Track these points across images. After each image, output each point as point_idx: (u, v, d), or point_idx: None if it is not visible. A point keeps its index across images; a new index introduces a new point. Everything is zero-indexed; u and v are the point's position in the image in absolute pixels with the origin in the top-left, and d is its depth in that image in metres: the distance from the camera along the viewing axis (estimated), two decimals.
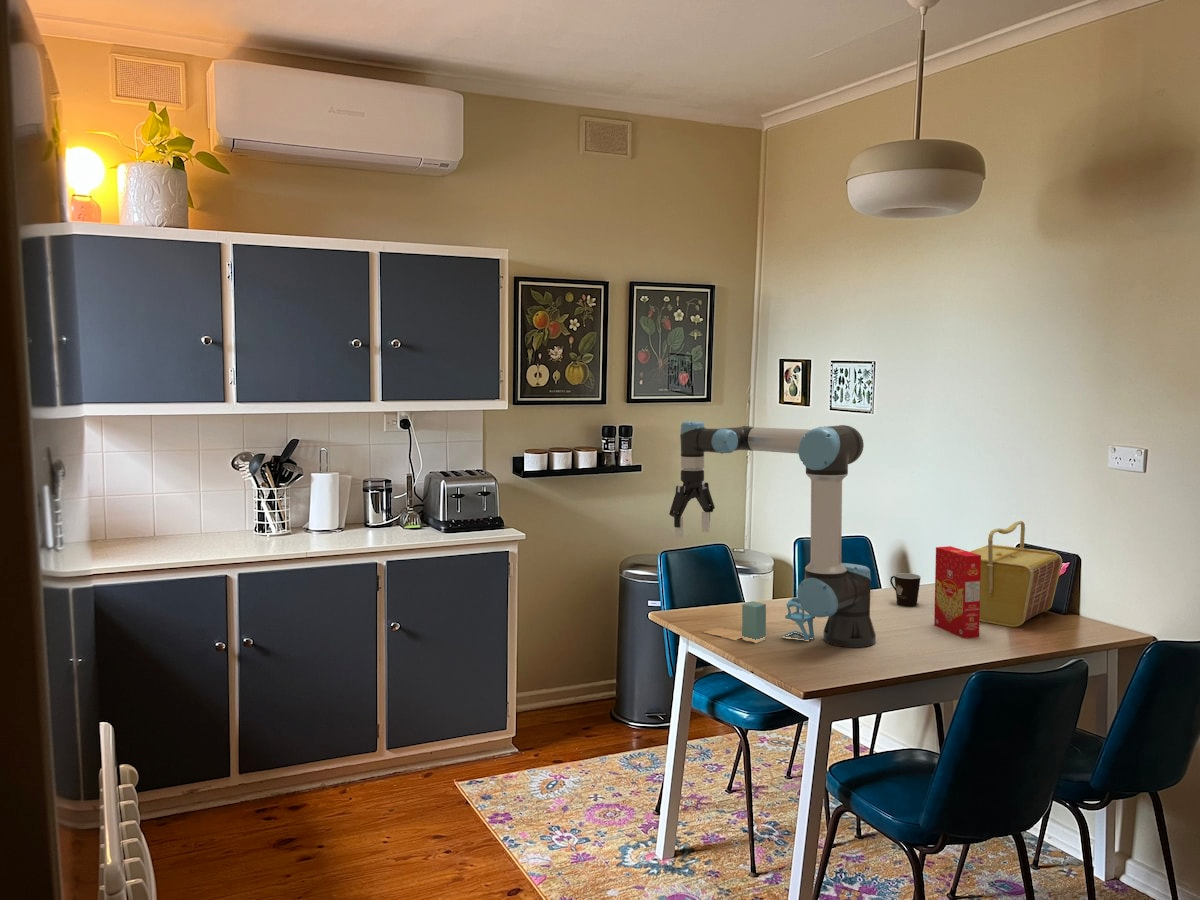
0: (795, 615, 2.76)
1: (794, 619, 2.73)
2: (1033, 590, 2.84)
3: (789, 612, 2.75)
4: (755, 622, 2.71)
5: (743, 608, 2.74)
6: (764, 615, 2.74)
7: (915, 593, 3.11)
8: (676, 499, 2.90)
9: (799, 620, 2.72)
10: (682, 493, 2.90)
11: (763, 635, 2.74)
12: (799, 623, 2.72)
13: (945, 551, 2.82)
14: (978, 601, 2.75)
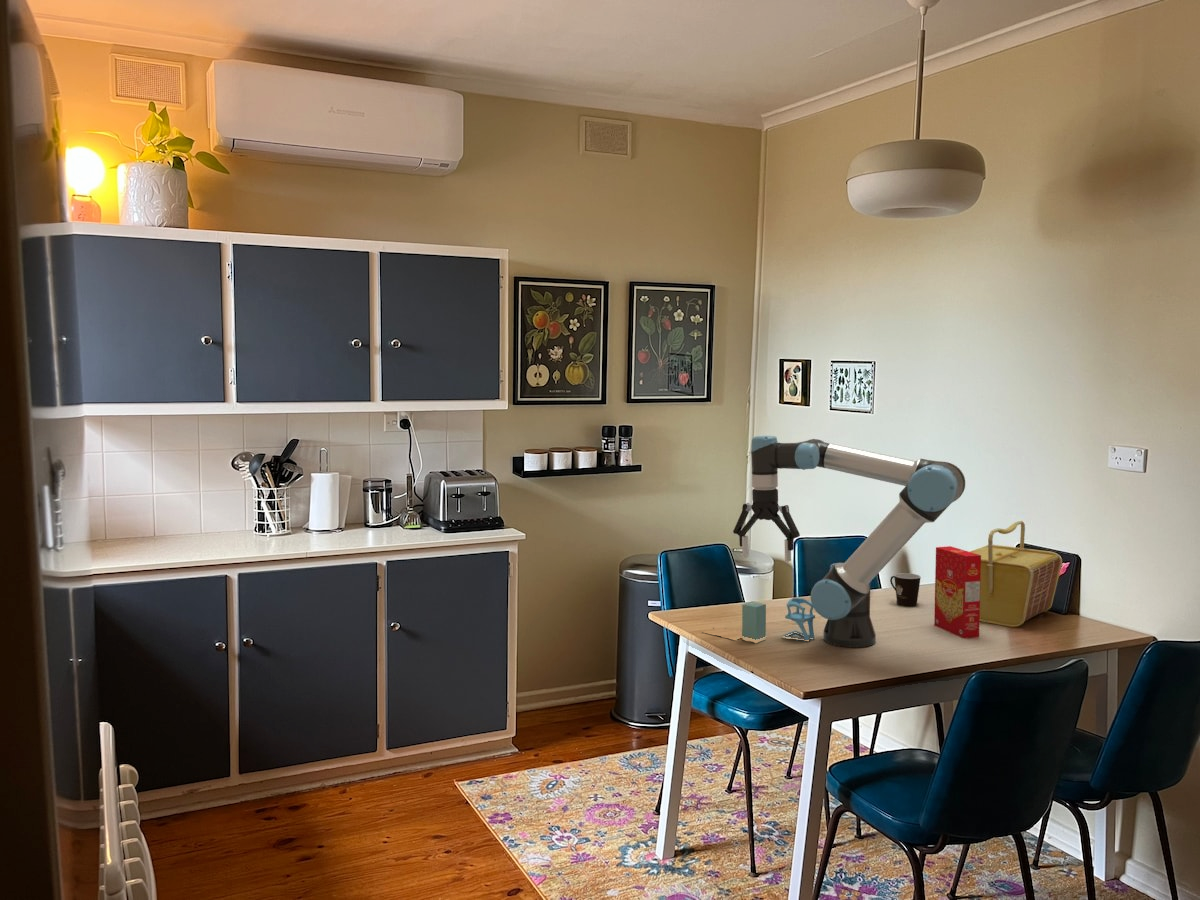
0: (795, 615, 2.76)
1: (794, 619, 2.73)
2: (1033, 590, 2.84)
3: (789, 612, 2.75)
4: (755, 622, 2.71)
5: (743, 608, 2.74)
6: (764, 615, 2.74)
7: (915, 593, 3.11)
8: None
9: (799, 620, 2.72)
10: (743, 511, 2.73)
11: (763, 635, 2.74)
12: (799, 623, 2.72)
13: (945, 551, 2.82)
14: (978, 601, 2.75)
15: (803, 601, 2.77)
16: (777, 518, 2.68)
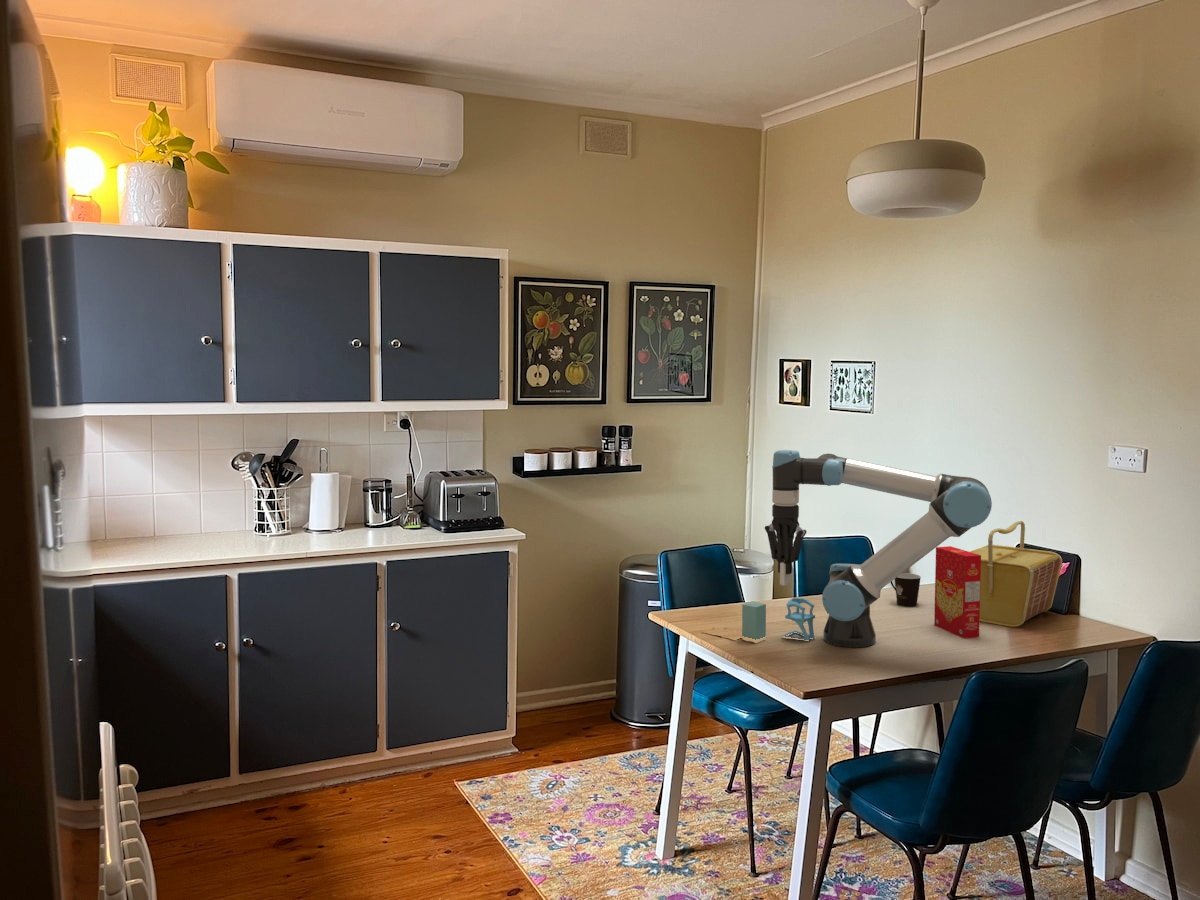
0: (795, 615, 2.76)
1: (794, 619, 2.73)
2: (1033, 590, 2.84)
3: (789, 612, 2.75)
4: (755, 622, 2.71)
5: (743, 608, 2.74)
6: (764, 615, 2.74)
7: (915, 593, 3.11)
8: None
9: (799, 620, 2.72)
10: (768, 533, 2.67)
11: (763, 635, 2.74)
12: (799, 623, 2.72)
13: (945, 551, 2.82)
14: (978, 601, 2.75)
15: (803, 601, 2.77)
16: (789, 539, 2.63)
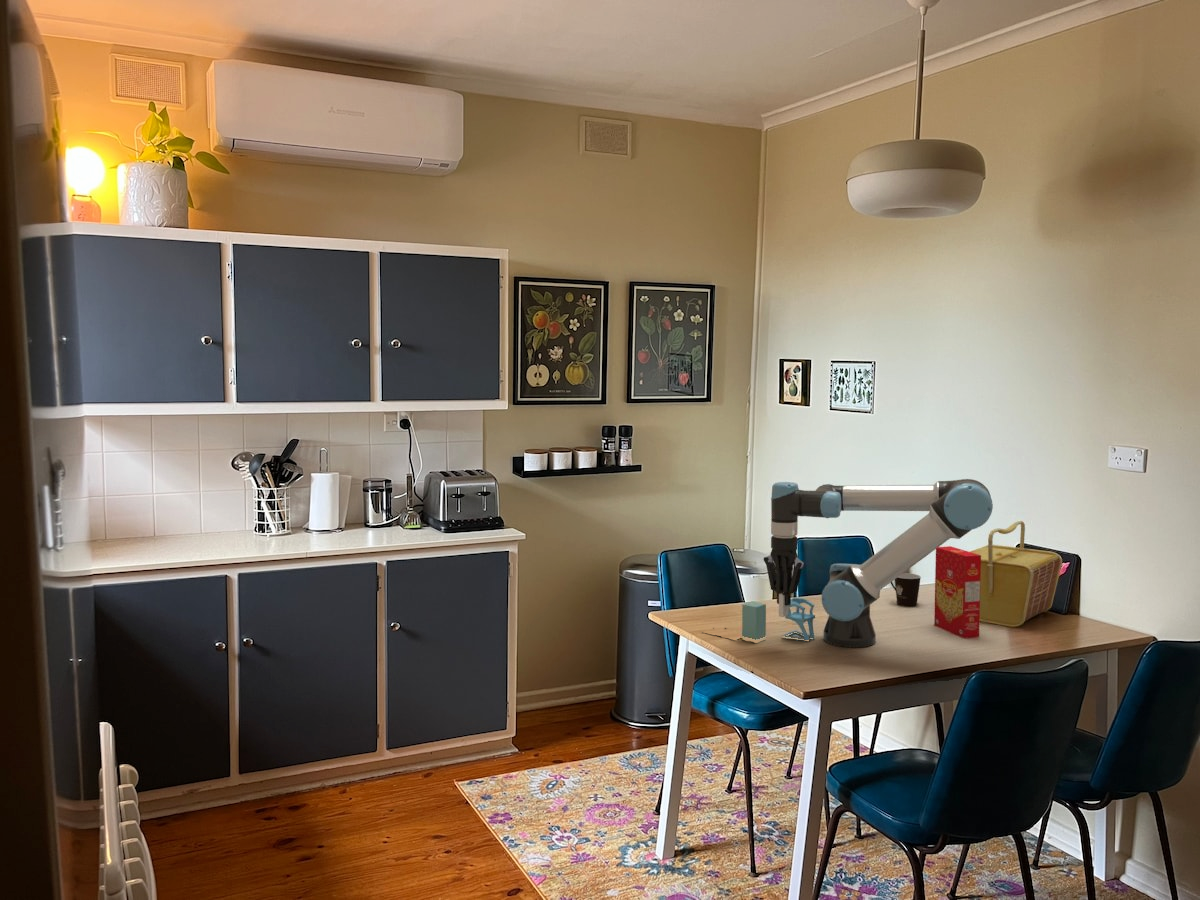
0: (795, 615, 2.76)
1: (794, 619, 2.73)
2: (1033, 590, 2.84)
3: (789, 612, 2.75)
4: (755, 622, 2.71)
5: (743, 608, 2.74)
6: (764, 615, 2.74)
7: (915, 593, 3.11)
8: None
9: (799, 620, 2.72)
10: (767, 564, 2.68)
11: (763, 635, 2.74)
12: (799, 623, 2.72)
13: (945, 551, 2.82)
14: (978, 601, 2.75)
15: (803, 601, 2.77)
16: (788, 570, 2.64)
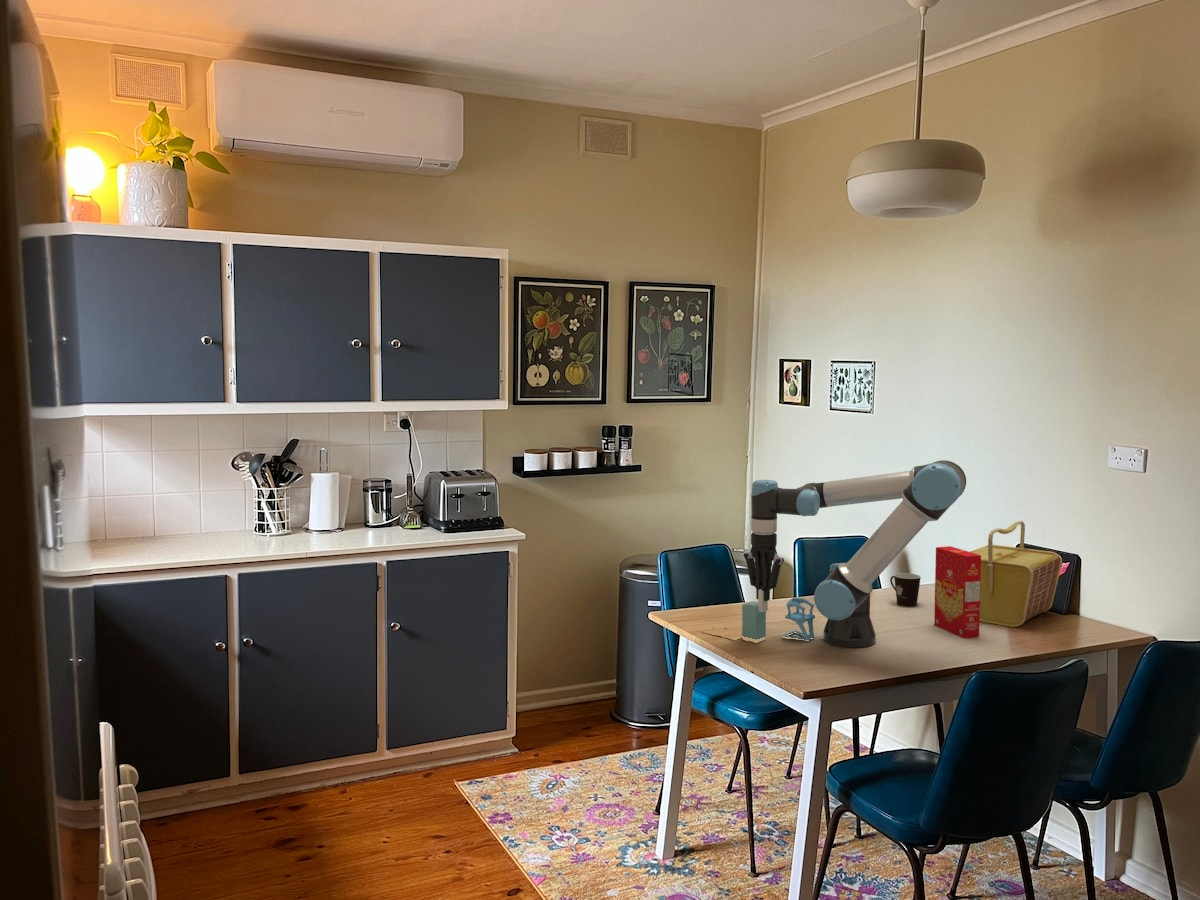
0: (795, 615, 2.76)
1: (794, 619, 2.73)
2: (1033, 590, 2.84)
3: (789, 612, 2.75)
4: (755, 622, 2.71)
5: (743, 608, 2.74)
6: (764, 615, 2.74)
7: (915, 593, 3.11)
8: None
9: (799, 620, 2.72)
10: (747, 560, 2.73)
11: (763, 635, 2.74)
12: (799, 623, 2.72)
13: (945, 551, 2.82)
14: (978, 601, 2.75)
15: (803, 601, 2.77)
16: (767, 566, 2.69)
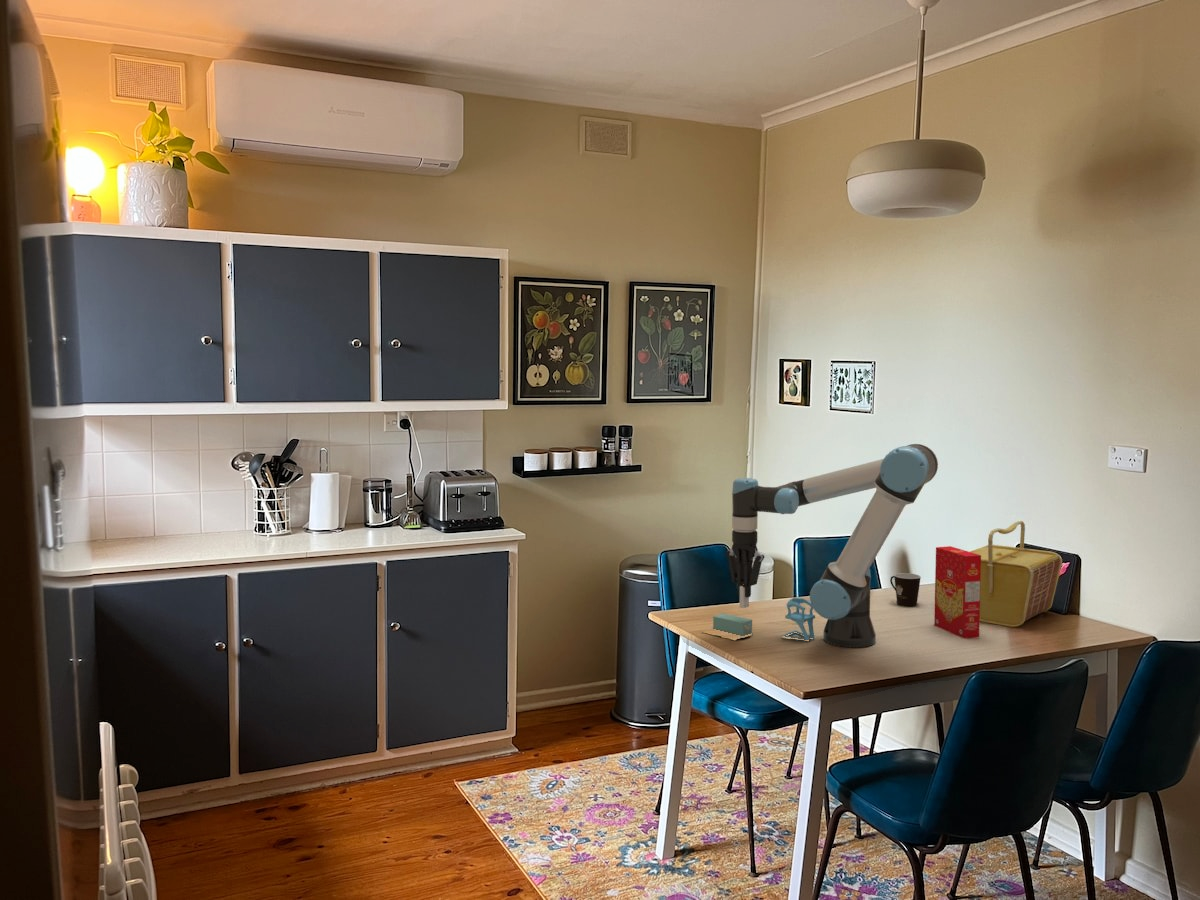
0: (795, 615, 2.76)
1: (794, 619, 2.73)
2: (1033, 590, 2.84)
3: (789, 612, 2.75)
4: (725, 619, 2.79)
5: None
6: (731, 615, 2.83)
7: (915, 593, 3.11)
8: None
9: (799, 620, 2.72)
10: (729, 557, 2.78)
11: (745, 619, 2.78)
12: (799, 623, 2.72)
13: (945, 551, 2.82)
14: (978, 601, 2.75)
15: (803, 601, 2.77)
16: (748, 563, 2.74)
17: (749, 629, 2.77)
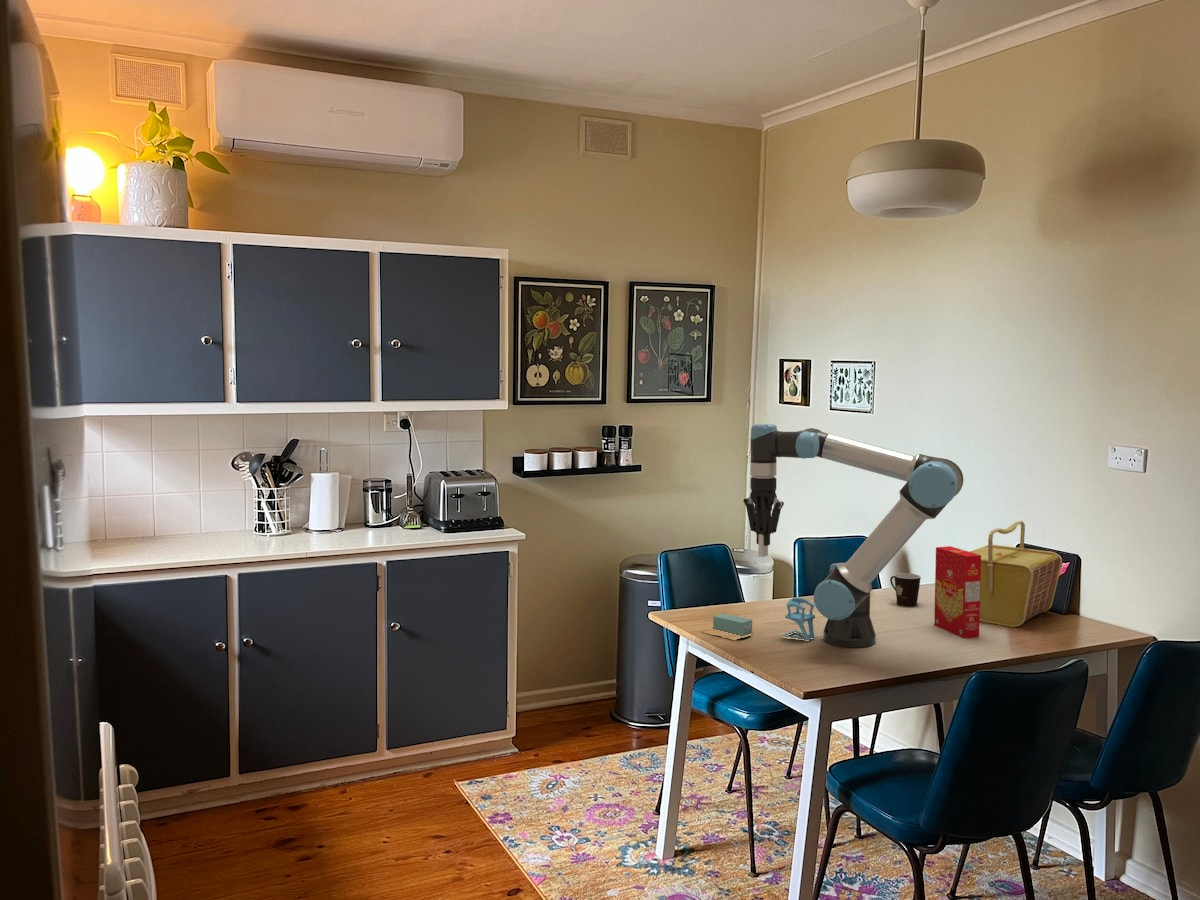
0: (795, 615, 2.76)
1: (794, 619, 2.73)
2: (1033, 590, 2.84)
3: (789, 612, 2.75)
4: (725, 619, 2.79)
5: None
6: (731, 615, 2.83)
7: (915, 593, 3.11)
8: None
9: (799, 620, 2.72)
10: (747, 505, 2.72)
11: (745, 619, 2.78)
12: (799, 623, 2.72)
13: (945, 551, 2.82)
14: (978, 601, 2.75)
15: (803, 601, 2.77)
16: (767, 510, 2.68)
17: (749, 629, 2.77)
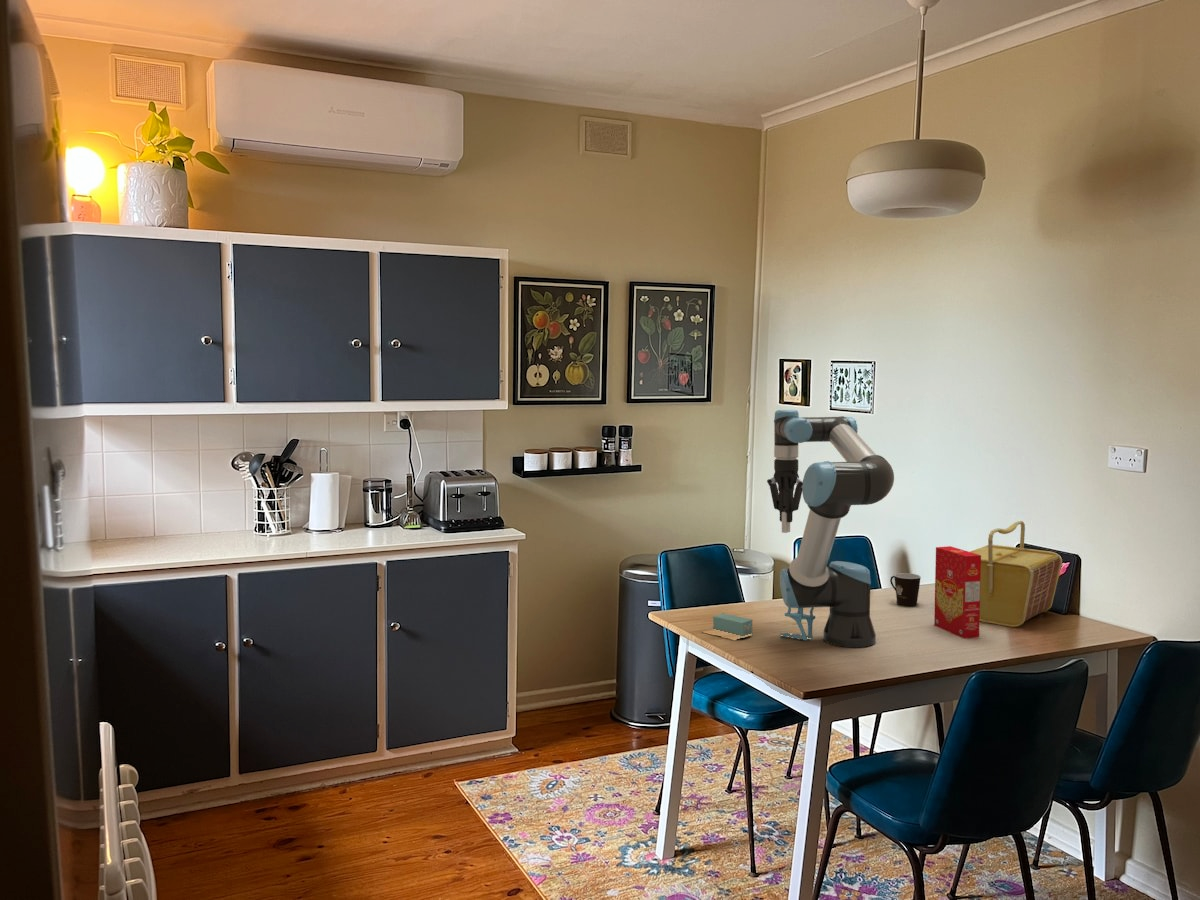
0: (795, 614, 2.78)
1: (793, 616, 2.75)
2: (1033, 590, 2.84)
3: (789, 610, 2.77)
4: (725, 619, 2.79)
5: None
6: (731, 615, 2.83)
7: (915, 593, 3.11)
8: None
9: (797, 617, 2.74)
10: (770, 485, 2.93)
11: (745, 619, 2.78)
12: (797, 620, 2.74)
13: (945, 551, 2.82)
14: (978, 601, 2.75)
15: None
16: (790, 490, 2.89)
17: (749, 629, 2.77)
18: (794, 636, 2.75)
